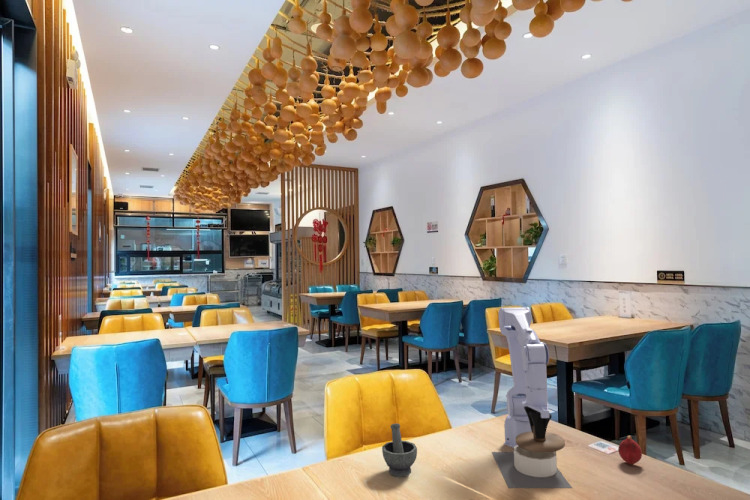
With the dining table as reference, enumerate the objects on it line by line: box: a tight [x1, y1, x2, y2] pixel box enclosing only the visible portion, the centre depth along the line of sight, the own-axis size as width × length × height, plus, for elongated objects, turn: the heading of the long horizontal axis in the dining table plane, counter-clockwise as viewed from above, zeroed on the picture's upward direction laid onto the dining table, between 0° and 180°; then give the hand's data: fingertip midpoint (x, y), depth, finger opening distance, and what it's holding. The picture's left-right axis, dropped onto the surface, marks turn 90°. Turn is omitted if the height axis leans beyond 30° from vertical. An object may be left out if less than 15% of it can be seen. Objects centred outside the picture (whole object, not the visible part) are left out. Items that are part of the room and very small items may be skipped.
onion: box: [618, 435, 643, 466], centre depth 127 cm, size 6×6×8 cm
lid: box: [516, 425, 566, 453], centre depth 126 cm, size 13×13×4 cm
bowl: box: [513, 445, 558, 478], centre depth 126 cm, size 11×11×5 cm
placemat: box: [491, 451, 573, 489], centre depth 126 cm, size 16×22×1 cm
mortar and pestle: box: [381, 423, 418, 478], centre depth 127 cm, size 11×9×12 cm
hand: (538, 435), depth 126 cm, fingers closed on lid, 3 cm apart
